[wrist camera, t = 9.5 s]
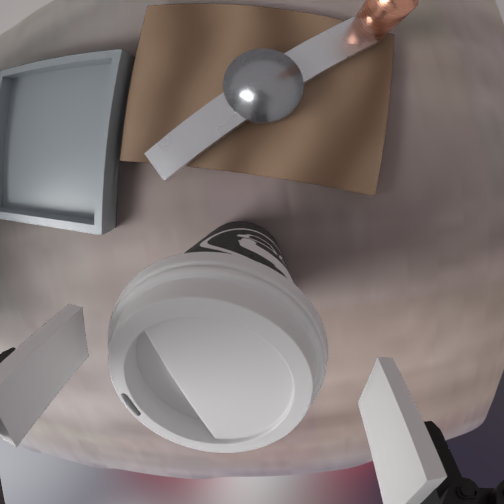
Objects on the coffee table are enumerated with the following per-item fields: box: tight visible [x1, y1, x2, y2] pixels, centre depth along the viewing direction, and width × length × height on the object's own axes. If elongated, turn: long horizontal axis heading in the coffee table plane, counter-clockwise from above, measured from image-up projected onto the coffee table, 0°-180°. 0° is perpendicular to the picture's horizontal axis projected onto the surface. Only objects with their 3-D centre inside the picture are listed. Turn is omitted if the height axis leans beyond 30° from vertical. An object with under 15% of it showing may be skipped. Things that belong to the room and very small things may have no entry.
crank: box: [144, 0, 418, 181], centre depth 16 cm, size 19×5×7 cm, turn 125°
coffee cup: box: [108, 222, 328, 453], centre depth 18 cm, size 10×10×15 cm
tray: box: [0, 49, 135, 235], centre depth 22 cm, size 14×14×2 cm
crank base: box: [120, 4, 394, 196], centre depth 20 cm, size 19×13×2 cm
